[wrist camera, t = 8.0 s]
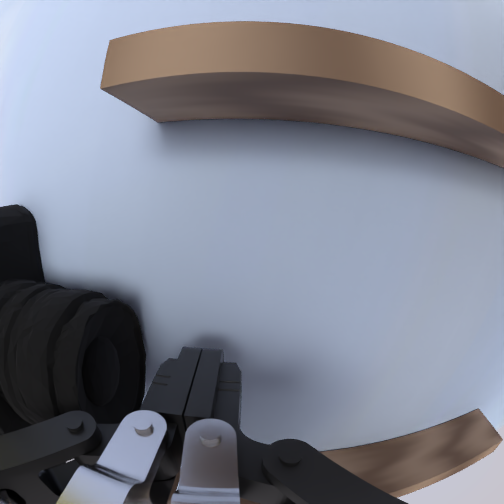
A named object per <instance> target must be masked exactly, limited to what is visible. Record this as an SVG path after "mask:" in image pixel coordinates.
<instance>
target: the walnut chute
mask: <svg viewBox="0 0 504 504" xmlns="http://www.w3.org/2000/svg"><path fill="white" fill-rule="evenodd" d="M100 89H102V90H103V91H105V92H107V93H109V94H111V95H112V96H114V97H116V98H118V99H119V100H121V101H123V102H125V103H126V104H128V105H130V106H131V107H133V108H135V109H136V110H138V111H140V112H141V113H143V114H145V115H146V116H148V117H150V118H151V119H153V120H155V121H156V122H158V123H159V122H169V121H183V120H201V119H270V120H288V121H302V122H313V123H322V124H331V125H339V126H346V127H353V128H360V129H366V130H371V131H377V132H382V133H387V134H392V135H397V136H402V137H406V138H410V139H415V140H419V141H423V142H427V143H430V144H434V145H438V146H441V147H445V148H448V149H451V150H455V151H458V152H461V153H464V154H467V155H470V156H473V157H476V158H479V159H482V160H484V161H487V162H490V163H492V164H495V165H497V166H500V167H502V168H504V95H502V94H501V93H499V92H497V91H496V90H494V89H493V88H491V87H489V86H488V85H486V84H484V83H482V82H481V81H479V80H477V79H475V78H473V77H471V76H470V75H468V74H466V73H464V72H462V71H460V70H458V69H456V68H454V67H452V66H449V65H447V64H445V63H443V62H440V61H438V60H436V59H433V58H431V57H429V56H426V55H424V54H421V53H418V52H416V51H413V50H410V49H407V48H404V47H401V46H398V45H395V44H392V43H389V42H386V41H382V40H379V39H375V38H371V37H367V36H363V35H359V34H355V33H350V32H345V31H340V30H335V29H329V28H323V27H317V26H309V25H301V24H291V23H278V22H255V21H236V22H212V23H200V24H190V25H182V26H174V27H168V28H161V29H156V30H151V31H146V32H141V33H136V34H132V35H128V36H124V37H120V38H116V39H113V40H110V42H109V46H108V50H107V55H106V59H105V64H104V70H103V75H102V81H101V87H100ZM502 440H503V439H502V438H501V436H500V435H499V434H498V432H497V431H496V430H495V429H494V427H493V426H492V425H491V423H490V422H489V421H488V420H487V418H486V417H485V416H484V415H483V413H482V412H481V411H480V410H479V409H476V410H474V411H472V412H470V413H467V414H465V415H463V416H460V417H458V418H456V419H453V420H450V421H448V422H445V423H443V424H440V425H437V426H434V427H431V428H428V429H425V430H422V431H419V432H416V433H412V434H409V435H405V436H402V437H398V438H394V439H390V440H386V441H382V442H377V443H373V444H368V445H363V446H357V447H351V448H345V449H339V450H331V451H323V452H320V453H322V454H323V455H325V456H326V457H328V458H329V459H331V460H332V461H334V462H335V463H337V464H338V465H340V466H341V467H343V468H345V469H346V470H348V471H349V472H351V473H353V474H354V475H356V476H358V477H359V478H361V479H363V480H364V481H366V482H368V483H370V484H371V485H373V486H375V487H377V488H379V489H380V490H382V491H384V492H386V493H388V494H390V495H392V496H394V497H396V498H397V497H400V496H403V495H406V494H409V493H412V492H414V491H416V490H419V489H422V488H424V487H427V486H429V485H431V484H434V483H436V482H438V481H440V480H443V479H445V478H447V477H449V476H451V475H453V474H455V473H457V472H459V471H461V470H463V469H465V468H467V467H468V466H470V465H472V464H474V463H475V462H477V461H479V460H481V459H482V458H484V457H486V456H487V455H489V454H490V453H492V452H493V451H494V450H495V449H496V448H497V447H498V445H499V444H500V443H501V441H502ZM240 504H260V503H257V502H253V501H249V500H246V499H242V498H240Z"/></svg>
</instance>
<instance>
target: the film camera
mask: <svg viewBox="0 0 504 504" xmlns="http://www.w3.org/2000/svg"><path fill="white" fill-rule="evenodd" d="M145 360H146V353H145V349H144V343H143V337H142V332H141V328H140V324H139V321H138V318H137V316H136V314H135V312H134V311H133V309H132V308H131V307H130V306H129V305H127V304H125V303H124V302H122V301H120V300H118V299H108V298H107V297H106V296H104V295H103V294H102V293H98V292H93V291H89V290H78V289H72V290H71V289H66V288H64V287H62V286H59V285H53V284H45V281H44V276H43V271H42V265H41V259H40V253H39V245H38V233H37V227H36V221H35V219H34V217H33V216H32V214H31V213H30V212H29V211H28V210H27V209H26V208H25V207H23V206H19V205H9V206H3V207H0V435H4V434H7V433H10V432H13V431H17V430H20V429H23V428H26V427H29V426H32V425H34V424H37V423H40V422H43V421H46V420H48V419H51V418H54V417H56V416H59V415H62V414H64V413H67V412H70V411H84V412H87V413H88V414H90V415H91V416H92V417H93V418H94V420H95V422H96V424H119V423H121V422H122V420H123V419H124V418H125V417H126V416H127V415H128V414H130V413H132V412H135V411H139V410H140V408H141V405H142V401H143V397H144V392H145V373H146V365H145ZM65 463H66V462H63V463H60V464H58V465H55V466H53V467H50V468H47V469H52V468H55V467H57V466H60V465H63V464H65Z"/></svg>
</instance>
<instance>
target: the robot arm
mask: <svg viewBox="0 0 504 504" xmlns="http://www.w3.org/2000/svg"><path fill="white" fill-rule="evenodd" d="M240 416H241V370H240V369H239V367H238V365H237V364H236V363H225V362H224V354H223V349H207V348H191V347H183V348H182V350H181V353H180V355H179V358H178V359H171V358H169V359H168V360H167V361H165V362H164V363H163V364H162V365H160V367H159V369H158V371H157V373H156V376H155V378H154V380H153V384H151V386H150V388H149V390H148V393H147V395H146V397H145V399H144V401H143V403H142V406H141V408H140V410H139V411H135V412H132V413H130V414H128V415H127V416H126V417H125V418H124V419H123V420H122V422H121V423H119V424H96V422H95V420H94V418H93V417H92V416H91V415H90V414H88V413H87V412H84V411H70V412H67V413H64V414H62V415H59V416H56V417H54V418H51V419H48V420H46V421H43V422H40V423H37V424H34V425H32V426H29V427H26V428H23V429H20V430H17V431H13V432H10V433H7V434H4V435H0V504H240V498H242V499H246V500H249V501H253V502H257V503H260V504H408V503H406V502H404V501H402V500H400V499H398V498H396V497H394V496H392V495H390V494H388V493H386V492H384V491H382V490H380V489H379V488H377V487H375V486H373V485H371V484H370V483H368V482H366V481H364V480H363V479H361V478H359V477H358V476H356V475H354V474H353V473H351V472H349V471H348V470H346V469H345V468H343V467H341V466H340V465H338V464H337V463H335V462H334V461H332V460H331V459H329V458H328V457H326V456H325V455H323V454H322V453H320V452H319V451H317V450H316V449H315V448H313V447H312V446H310V445H309V444H307V443H306V442H303V441H300V440H296V439H283V440H279V441H276V442H274V443H272V444H271V445H267V444H263V443H259V442H256V441H253V440H251V439H249V438H248V437H246V436H245V435H244V434H243V433H242V432H241V430H240ZM73 458H74V459H75V460H73V461H70V462H68V463H65V464H63V465H60V466H57V467H55V468H52V469H47V468H50V467H53V466H55V465H58V464H60V463H63V462H66V461H68V460H71V459H73ZM178 483H179V486H178ZM177 486H178V490H177V491H176V489H177Z"/></svg>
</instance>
